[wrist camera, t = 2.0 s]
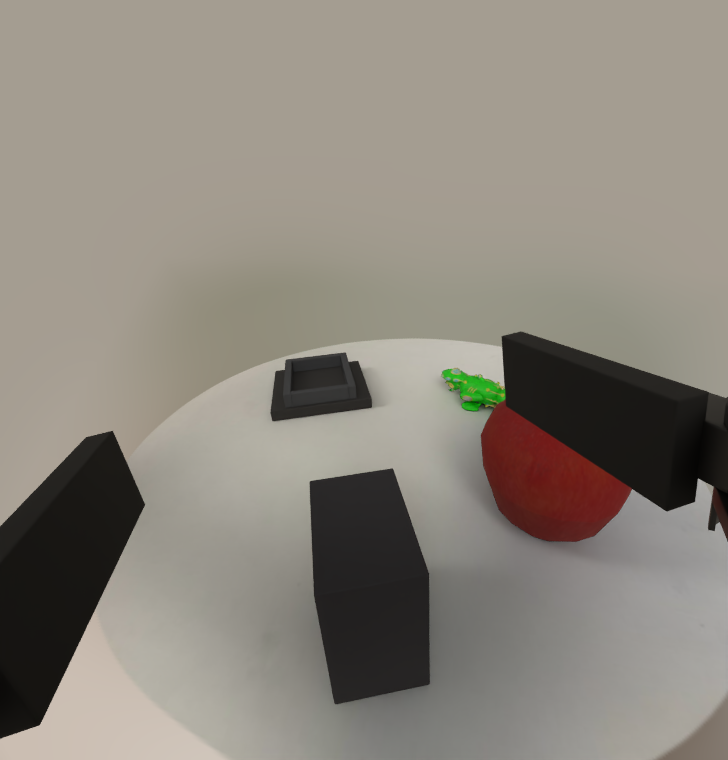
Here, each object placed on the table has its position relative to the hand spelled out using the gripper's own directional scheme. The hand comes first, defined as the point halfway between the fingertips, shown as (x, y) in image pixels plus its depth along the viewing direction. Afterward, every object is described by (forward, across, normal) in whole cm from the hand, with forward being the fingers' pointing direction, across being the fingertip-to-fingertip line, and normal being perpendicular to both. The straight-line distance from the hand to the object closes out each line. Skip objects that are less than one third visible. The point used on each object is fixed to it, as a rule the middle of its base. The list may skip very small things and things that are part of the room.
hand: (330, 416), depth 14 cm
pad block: (+9, 0, -21) cm, 22 cm away
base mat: (+47, +2, -16) cm, 50 cm away
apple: (+14, +18, -22) cm, 31 cm away
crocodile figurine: (+33, +24, -20) cm, 45 cm away
